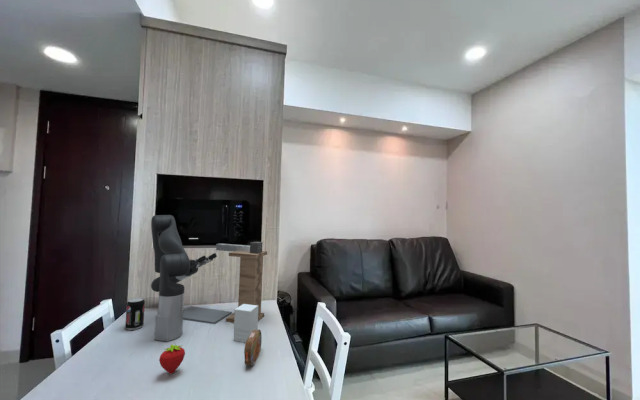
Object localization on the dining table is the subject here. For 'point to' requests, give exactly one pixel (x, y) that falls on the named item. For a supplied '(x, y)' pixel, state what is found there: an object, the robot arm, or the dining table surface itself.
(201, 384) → the dining table surface
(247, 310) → the supplement box
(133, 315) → the beverage can
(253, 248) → the steel bar
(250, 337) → the tin
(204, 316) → the charcoal mat
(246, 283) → the walnut shelf stand
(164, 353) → the strawberry
